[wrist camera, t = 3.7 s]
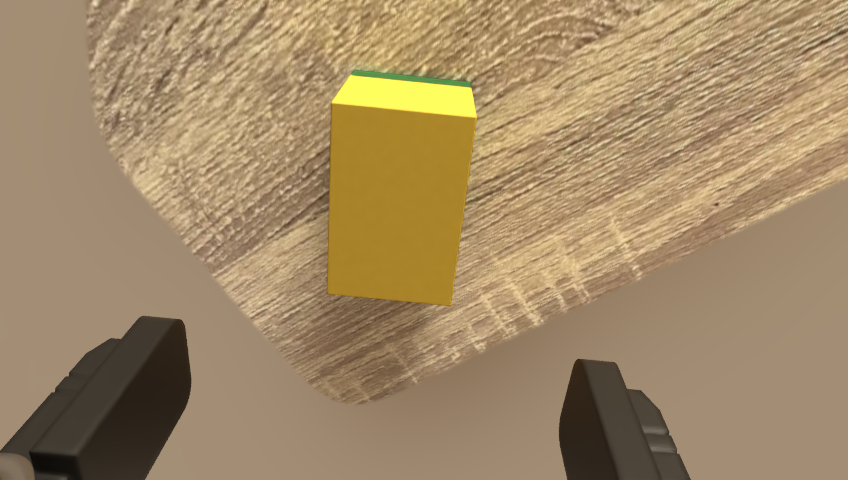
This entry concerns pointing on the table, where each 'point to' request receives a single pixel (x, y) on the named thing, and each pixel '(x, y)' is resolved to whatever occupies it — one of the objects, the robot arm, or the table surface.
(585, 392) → the robot arm
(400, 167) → the sponge
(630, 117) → the table surface
